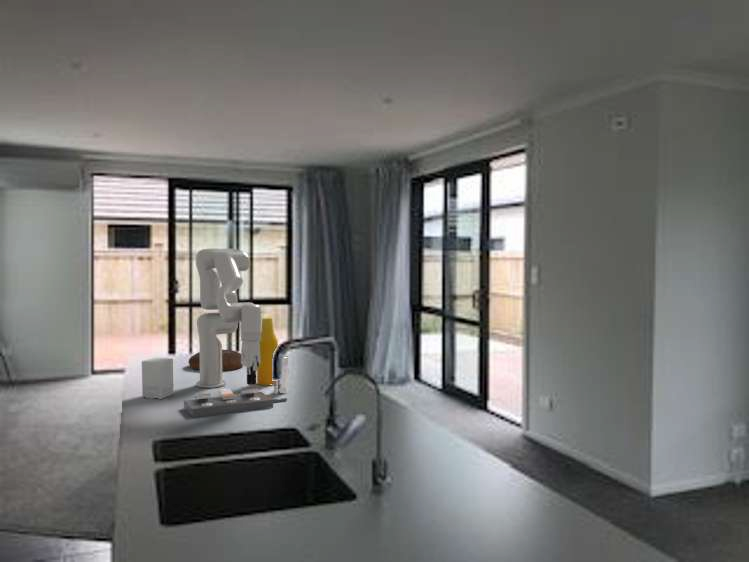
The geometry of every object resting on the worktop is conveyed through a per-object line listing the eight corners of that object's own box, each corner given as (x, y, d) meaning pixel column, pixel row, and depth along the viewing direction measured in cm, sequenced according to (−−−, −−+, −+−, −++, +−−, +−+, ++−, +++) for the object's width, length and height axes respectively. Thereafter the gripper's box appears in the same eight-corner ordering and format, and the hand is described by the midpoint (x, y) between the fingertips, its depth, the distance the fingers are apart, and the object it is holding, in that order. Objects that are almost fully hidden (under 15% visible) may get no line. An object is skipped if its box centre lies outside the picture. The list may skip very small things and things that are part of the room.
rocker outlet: (194, 398, 236) (194, 395, 236) (206, 397, 238) (206, 393, 238) (198, 398, 230) (198, 394, 230) (210, 396, 232) (210, 393, 232)
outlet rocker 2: (241, 393, 244) (241, 390, 245) (252, 392, 247) (252, 389, 247) (246, 392, 238) (246, 389, 239) (257, 391, 240) (257, 388, 241)
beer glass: (285, 394, 257) (285, 358, 256) (269, 393, 258) (269, 357, 257) (291, 391, 264) (291, 355, 263) (275, 390, 265) (275, 355, 264)
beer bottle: (280, 384, 275) (280, 319, 274) (259, 386, 272) (259, 319, 270) (275, 380, 284) (275, 316, 282) (255, 382, 281) (254, 317, 279)
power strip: (184, 408, 235) (183, 398, 234) (280, 397, 253) (280, 387, 253) (192, 417, 222) (192, 406, 222) (293, 404, 241) (293, 395, 241)
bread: (184, 364, 323) (184, 347, 322) (237, 360, 335) (237, 344, 334) (194, 374, 297) (194, 356, 297) (250, 370, 309) (250, 352, 309)
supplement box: (174, 394, 257) (173, 358, 256) (161, 399, 248) (160, 362, 247) (155, 392, 259) (154, 357, 258) (141, 397, 250) (141, 360, 250)
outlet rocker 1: (218, 391, 240) (218, 388, 240) (229, 390, 242) (229, 387, 242) (223, 399, 234) (223, 396, 234) (234, 398, 236) (235, 395, 236)
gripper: (235, 335, 244) (236, 381, 245) (247, 339, 231) (248, 389, 232) (254, 333, 248) (254, 379, 248) (267, 338, 234) (267, 387, 235)
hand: (251, 384), depth 240 cm, fingers closed
